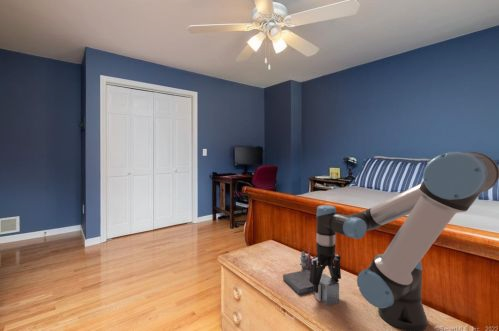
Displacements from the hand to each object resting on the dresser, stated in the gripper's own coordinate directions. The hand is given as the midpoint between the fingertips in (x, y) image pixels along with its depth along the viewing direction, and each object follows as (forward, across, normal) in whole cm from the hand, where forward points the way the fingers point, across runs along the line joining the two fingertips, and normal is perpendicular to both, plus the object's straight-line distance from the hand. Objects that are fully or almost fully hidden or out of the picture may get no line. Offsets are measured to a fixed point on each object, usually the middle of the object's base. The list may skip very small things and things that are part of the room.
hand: (325, 297), depth 101 cm
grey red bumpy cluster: (+1, -10, -27) cm, 29 cm away
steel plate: (0, +2, -13) cm, 13 cm away
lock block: (0, 0, 0) cm, 0 cm away
